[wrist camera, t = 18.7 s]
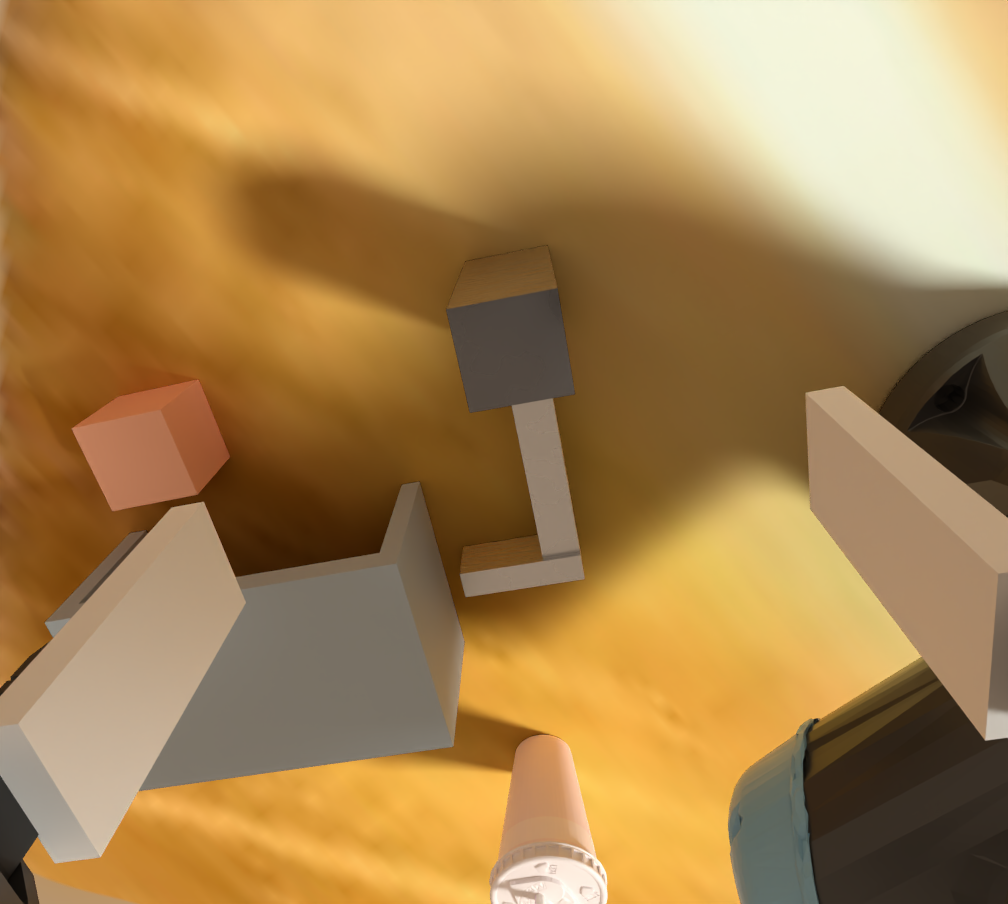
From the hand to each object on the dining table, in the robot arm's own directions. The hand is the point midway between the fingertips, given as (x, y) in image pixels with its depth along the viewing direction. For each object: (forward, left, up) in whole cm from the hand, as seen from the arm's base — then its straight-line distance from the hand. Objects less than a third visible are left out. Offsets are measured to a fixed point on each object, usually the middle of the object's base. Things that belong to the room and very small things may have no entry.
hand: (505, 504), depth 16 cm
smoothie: (+4, +30, -22) cm, 37 cm away
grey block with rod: (+2, +6, -22) cm, 23 cm away
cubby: (+15, +15, -22) cm, 30 cm away
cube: (+19, +3, -22) cm, 29 cm away
